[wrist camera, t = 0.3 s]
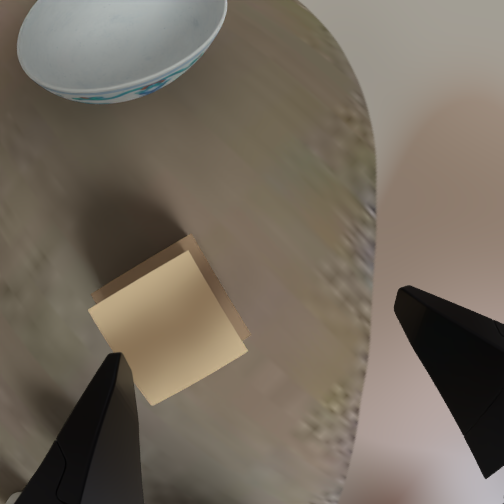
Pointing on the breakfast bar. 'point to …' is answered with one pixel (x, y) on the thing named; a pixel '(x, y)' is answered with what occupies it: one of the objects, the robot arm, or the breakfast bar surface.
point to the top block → (168, 329)
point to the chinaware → (114, 45)
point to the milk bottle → (13, 498)
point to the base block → (164, 257)
